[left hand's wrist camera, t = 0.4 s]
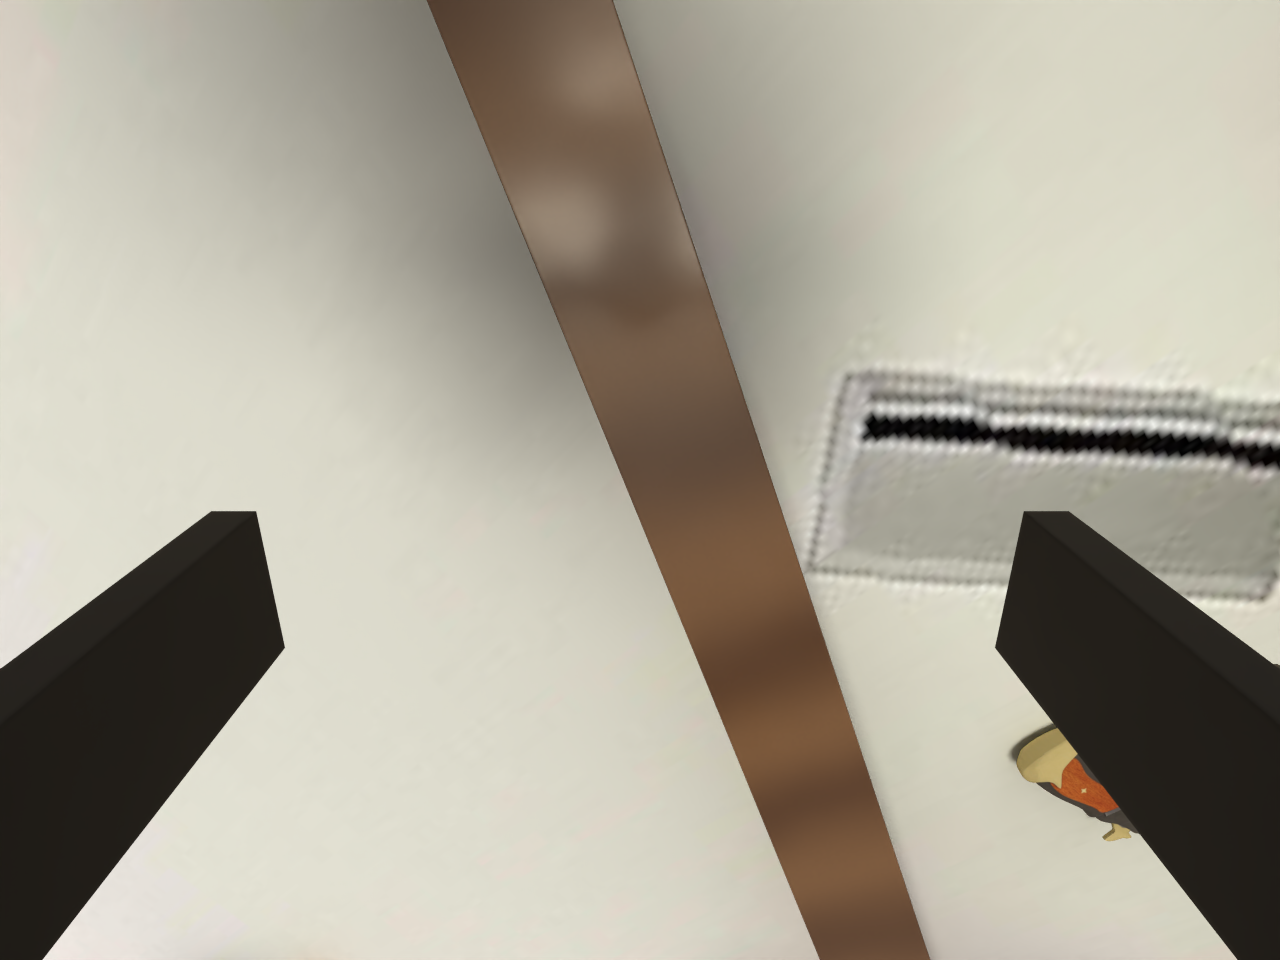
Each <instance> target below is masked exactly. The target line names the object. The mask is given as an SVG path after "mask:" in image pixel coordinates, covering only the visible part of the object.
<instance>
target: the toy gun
mask: <svg viewBox="0 0 1280 960" xmlns="http://www.w3.org/2000/svg"><path fill="white" fill-rule="evenodd" d="M1017 767H1018V769H1019V771H1020V773H1021V775H1022V776H1023V777H1024V778H1025V779H1026V780H1027V781H1029V782H1034V783H1035V782H1036V783H1037V784H1038V785H1039V786H1041V787H1042V788H1044V789H1045V790H1046V791H1048V792H1050V793H1051V794H1053V795H1054V796H1056V797H1058V798H1060V799H1062V800H1064V801H1066V802H1069V803H1071V804H1073V805H1075V806H1078V807H1080V808H1081V809H1083V810H1084V812H1085V813H1086V814H1087V815H1088V816H1090V817H1096V818H1097V819H1099V820H1101V821H1103V822H1108V823H1111V824H1112V830H1111V831H1109V832H1108V833H1107V834H1105V835H1104V836H1103V838H1104V840H1106V841H1114V840H1117V839H1121V838H1131V836H1130V834H1129V833H1128V832H1129V831H1130V830H1131V831H1132V832H1134V833H1138V834H1139V832H1138V831H1137V830H1136V828H1135V827H1134V826H1133V825H1132V823H1131V822H1130V821H1129V819H1128V818H1127V817H1126V816H1125V814H1124V813H1123V812H1122V810H1121V809H1120V808H1119V806H1118V805H1117V804H1116V803H1115V801H1114V800H1113V799H1112V797H1111V796H1110V795H1109V794H1108V792H1107V791H1106V790H1105V788H1104V787H1103V786H1102V785H1101V783H1100V782H1099V781H1098V779H1097V778H1096V777H1095V776H1094V774H1093V773H1092V772H1091V770H1090V769H1089V768H1088V767H1087V765H1086V764H1085V763H1084V761H1083V760H1082V759H1081V758H1080V756H1079V755H1078V754H1077V752H1076V751H1075V750H1074V749H1073V747H1072V746H1071V745H1070V743H1069V742H1068V741H1067V740H1066V738H1065V737H1064V736H1063V734H1062V733H1061V732H1060V731H1059V729H1058V728H1056V729H1054V730H1051V731H1049V732H1047V733H1044V734H1043V735H1041V736H1039V737H1037V738H1036V739H1034V740H1033V741H1031V742H1030V743H1028V744H1027V745H1026V746H1025V747H1023V748H1022V749H1021V751H1020V754H1019V756H1018V759H1017Z"/></svg>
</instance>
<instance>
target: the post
mask: <svg viewBox="0 0 1280 960" xmlns="http://www.w3.org/2000/svg"><path fill="white" fill-rule="evenodd" d="M427 2H428V4H429V7H430V9H431V12H432V14H433V17H434V19H435V22H436V24H437V26H438V29H439V31H440V34H441V36H442V39H443V41H444V44H445V46H446V48H447V51H448V53H449V56H450V58H451V61H452V63H453V65H454V68H455V70H456V73H457V75H458V78H459V80H460V83H461V85H462V87H463V90H464V92H465V95H466V97H467V100H468V102H469V105H470V107H471V109H472V112H473V114H474V117H475V119H476V122H477V124H478V127H479V129H480V131H481V134H482V136H483V139H484V141H485V144H486V146H487V148H488V151H489V153H490V156H491V158H492V161H493V163H494V166H495V168H496V170H497V173H498V175H499V178H500V180H501V183H502V185H503V188H504V190H505V192H506V195H507V197H508V200H509V202H510V205H511V207H512V209H513V212H514V214H515V217H516V219H517V222H518V224H519V227H520V229H521V231H522V234H523V236H524V239H525V241H526V244H527V246H528V249H529V251H530V253H531V256H532V258H533V261H534V263H535V266H536V268H537V270H538V273H539V275H540V278H541V280H542V283H543V285H544V288H545V290H546V292H547V295H548V297H549V300H550V302H551V305H552V307H553V310H554V312H555V314H556V317H557V319H558V322H559V324H560V327H561V329H562V331H563V334H564V336H565V339H566V341H567V344H568V346H569V349H570V351H571V353H572V356H573V358H574V361H575V363H576V366H577V368H578V371H579V373H580V375H581V378H582V380H583V383H584V385H585V388H586V390H587V392H588V395H589V397H590V400H591V402H592V405H593V407H594V410H595V412H596V414H597V417H598V419H599V422H600V424H601V427H602V429H603V432H604V434H605V436H606V439H607V441H608V444H609V446H610V449H611V451H612V453H613V456H614V458H615V461H616V463H617V466H618V468H619V471H620V473H621V475H622V478H623V480H624V483H625V485H626V488H627V490H628V493H629V495H630V497H631V500H632V502H633V505H634V507H635V510H636V512H637V514H638V517H639V519H640V522H641V524H642V527H643V529H644V532H645V534H646V536H647V539H648V541H649V544H650V546H651V549H652V551H653V554H654V556H655V558H656V561H657V563H658V566H659V568H660V571H661V573H662V575H663V578H664V580H665V583H666V585H667V588H668V590H669V593H670V595H671V597H672V600H673V602H674V605H675V607H676V610H677V612H678V615H679V617H680V619H681V622H682V624H683V627H684V629H685V632H686V634H687V636H688V639H689V641H690V644H691V646H692V649H693V651H694V654H695V656H696V658H697V661H698V663H699V666H700V668H701V671H702V673H703V676H704V678H705V680H706V683H707V685H708V688H709V690H710V693H711V695H712V697H713V700H714V702H715V705H716V707H717V710H718V712H719V715H720V717H721V719H722V722H723V724H724V727H725V729H726V732H727V734H728V737H729V739H730V741H731V744H732V746H733V749H734V751H735V754H736V756H737V758H738V761H739V763H740V766H741V768H742V771H743V773H744V776H745V778H746V780H747V783H748V785H749V788H750V790H751V793H752V795H753V798H754V800H755V802H756V805H757V807H758V810H759V812H760V815H761V817H762V819H763V822H764V824H765V827H766V829H767V832H768V834H769V837H770V839H771V841H772V844H773V846H774V849H775V851H776V854H777V856H778V859H779V861H780V863H781V866H782V868H783V871H784V873H785V876H786V878H787V880H788V883H789V885H790V888H791V890H792V893H793V895H794V898H795V900H796V902H797V905H798V907H799V910H800V912H801V915H802V917H803V920H804V922H805V924H806V927H807V929H808V932H809V934H810V937H811V939H812V942H813V944H814V946H815V949H816V951H817V954H818V956H819V959H820V960H930V958H929V955H928V952H927V949H926V946H925V943H924V940H923V937H922V934H921V931H920V928H919V925H918V922H917V919H916V915H915V912H914V909H913V906H912V903H911V900H910V897H909V894H908V891H907V888H906V885H905V882H904V879H903V876H902V873H901V870H900V867H899V864H898V861H897V858H896V855H895V852H894V849H893V846H892V843H891V840H890V837H889V834H888V831H887V828H886V825H885V822H884V819H883V816H882V813H881V810H880V807H879V804H878V801H877V798H876V795H875V792H874V789H873V786H872V782H871V779H870V776H869V773H868V770H867V767H866V764H865V761H864V758H863V755H862V752H861V749H860V746H859V743H858V740H857V737H856V734H855V731H854V728H853V725H852V722H851V719H850V716H849V713H848V710H847V707H846V704H845V701H844V698H843V695H842V692H841V689H840V686H839V683H838V680H837V677H836V674H835V671H834V668H833V665H832V662H831V659H830V656H829V653H828V649H827V646H826V643H825V640H824V637H823V634H822V631H821V628H820V625H819V622H818V619H817V616H816V613H815V610H814V607H813V604H812V601H811V598H810V595H809V592H808V589H807V586H806V583H805V580H804V577H803V574H802V571H801V568H800V565H799V562H798V559H797V556H796V553H795V550H794V547H793V544H792V541H791V538H790V535H789V532H788V529H787V526H786V523H785V520H784V516H783V513H782V510H781V507H780V504H779V501H778V498H777V495H776V492H775V489H774V486H773V483H772V480H771V477H770V474H769V471H768V468H767V465H766V462H765V459H764V456H763V453H762V450H761V447H760V444H759V441H758V438H757V435H756V432H755V429H754V426H753V423H752V420H751V417H750V414H749V411H748V408H747V405H746V402H745V399H744V396H743V393H742V390H741V386H740V383H739V380H738V377H737V374H736V371H735V368H734V365H733V362H732V359H731V356H730V353H729V350H728V347H727V344H726V341H725V338H724V335H723V332H722V329H721V326H720V323H719V320H718V317H717V314H716V311H715V308H714V305H713V302H712V299H711V296H710V293H709V290H708V287H707V284H706V281H705V278H704V275H703V272H702V269H701V266H700V263H699V260H698V257H697V253H696V250H695V247H694V244H693V241H692V238H691V235H690V232H689V229H688V226H687V223H686V220H685V217H684V214H683V211H682V208H681V205H680V202H679V199H678V196H677V193H676V190H675V187H674V184H673V181H672V178H671V175H670V172H669V169H668V166H667V163H666V160H665V157H664V154H663V151H662V148H661V145H660V142H659V139H658V136H657V133H656V130H655V127H654V124H653V120H652V117H651V114H650V111H649V108H648V105H647V102H646V99H645V96H644V93H643V90H642V87H641V84H640V81H639V78H638V75H637V72H636V69H635V66H634V63H633V60H632V57H631V54H630V51H629V48H628V45H627V42H626V39H625V36H624V33H623V30H622V27H621V24H620V21H619V18H618V15H617V12H616V9H615V6H614V3H613V0H427Z"/></svg>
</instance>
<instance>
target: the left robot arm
mask: <svg viewBox="0 0 1280 960" xmlns="http://www.w3.org/2000/svg"><path fill="white" fill-rule="evenodd" d="M284 648H285V646H284V641H283V637H282V632H281V627H280V622H279V618H278V613H277V608H276V603H275V599H274V594H273V589H272V584H271V580H270V575H269V570H268V565H267V561H266V556H265V551H264V547H263V542H262V537H261V532H260V528H259V523H258V518H257V513H256V511H211V512H210V513H208V514H207V515H206V516H204V517H203V518H202V519H200V520H199V521H198V522H196V523H195V524H194V525H192V526H191V527H190V528H188V529H187V530H186V531H184V532H183V533H182V534H180V535H179V536H178V537H176V538H175V539H174V540H172V541H171V542H170V543H168V544H167V545H166V546H164V547H163V548H162V549H160V550H159V551H158V552H156V553H155V554H154V555H152V556H151V557H150V558H148V559H147V560H146V561H144V562H143V563H142V564H140V565H139V566H138V567H136V568H135V569H134V570H132V571H131V572H130V573H128V574H127V575H125V576H124V577H123V578H121V579H120V580H119V581H117V582H116V583H115V584H113V585H112V586H111V587H109V588H108V589H107V590H105V591H104V592H103V593H101V594H100V595H99V596H97V597H96V598H95V599H93V600H92V601H91V602H89V603H88V604H87V605H85V606H84V607H83V608H81V609H80V610H79V611H77V612H76V613H75V614H73V615H72V616H71V617H69V618H68V619H67V620H65V621H64V622H63V623H61V624H60V625H59V626H57V627H56V628H55V629H53V630H52V631H51V632H49V633H48V634H47V635H45V636H44V637H43V638H41V639H40V640H39V641H37V642H36V643H35V644H33V645H32V646H31V647H29V648H28V649H27V650H25V651H24V652H23V653H21V654H20V655H18V656H17V657H16V658H14V659H13V660H12V661H10V662H9V663H8V664H6V665H5V666H4V667H2V668H0V960H43V958H44V957H45V956H46V954H47V953H48V952H49V951H50V949H51V948H52V947H53V945H54V944H55V943H56V942H57V940H58V939H59V938H60V936H61V935H62V934H63V933H64V931H65V930H66V929H67V927H68V926H69V925H70V924H71V922H72V921H73V920H74V918H75V917H76V916H77V915H78V913H79V912H80V911H81V909H82V908H83V907H84V906H85V904H86V903H87V902H88V900H89V899H90V898H91V897H92V895H93V894H94V893H95V891H96V890H97V889H98V888H99V886H100V885H101V884H102V882H103V881H104V880H105V879H106V877H107V876H108V875H109V873H110V872H111V871H112V870H113V868H114V867H115V866H116V864H117V863H118V862H119V861H120V859H121V858H122V857H123V855H124V854H125V853H126V852H127V850H128V849H129V848H130V846H131V845H132V844H133V843H134V841H135V840H136V839H137V837H138V836H139V835H140V834H141V832H142V831H143V830H144V828H145V827H146V826H147V825H148V823H149V822H150V821H151V819H152V818H153V817H154V815H155V814H156V813H157V812H158V810H159V809H160V808H161V806H162V805H163V804H164V803H165V801H166V800H167V799H168V797H169V796H170V795H171V794H172V792H173V791H174V790H175V788H176V787H177V786H178V785H179V783H180V782H181V781H182V779H183V778H184V777H185V776H186V774H187V773H188V772H189V770H190V769H191V768H192V767H193V765H194V764H195V763H196V761H197V760H198V759H199V758H200V756H201V755H202V754H203V752H204V751H205V750H206V749H207V747H208V746H209V745H210V743H211V742H212V741H213V740H214V738H215V737H216V736H217V734H218V733H219V732H220V731H221V729H222V728H223V727H224V725H225V724H226V723H227V722H228V720H229V719H230V718H231V716H232V715H233V714H234V713H235V711H236V710H237V709H238V707H239V706H240V705H241V704H242V702H243V701H244V700H245V698H246V697H247V696H248V695H249V693H250V692H251V691H252V689H253V688H254V687H255V686H256V684H257V683H258V682H259V680H260V679H261V678H262V677H263V675H264V674H265V673H266V671H267V670H268V669H269V668H270V666H271V665H272V664H273V662H274V661H275V660H276V659H277V657H278V656H279V655H280V653H281V652H282V651H283V650H284ZM995 648H996V650H997V651H998V652H999V653H1000V655H1001V656H1002V657H1003V659H1004V660H1005V661H1006V662H1007V664H1008V665H1009V666H1010V668H1011V669H1012V670H1013V671H1014V673H1015V674H1016V675H1017V677H1018V678H1019V679H1020V680H1021V682H1022V683H1023V684H1024V686H1025V687H1026V688H1027V689H1028V691H1029V692H1030V693H1031V695H1032V696H1033V697H1034V698H1035V700H1036V701H1037V702H1038V704H1039V705H1040V706H1041V707H1042V709H1043V710H1044V711H1045V713H1046V714H1047V715H1048V716H1049V718H1050V719H1051V720H1052V722H1053V723H1054V724H1055V725H1056V727H1057V728H1058V729H1059V731H1060V732H1061V733H1062V734H1063V736H1064V737H1065V738H1066V740H1067V741H1068V742H1069V743H1070V745H1071V746H1072V747H1073V749H1074V750H1075V751H1076V752H1077V754H1078V755H1079V756H1080V758H1081V759H1082V760H1083V761H1084V763H1085V764H1086V765H1087V767H1088V768H1089V769H1090V770H1091V772H1092V773H1093V774H1094V776H1095V777H1096V778H1097V779H1098V781H1099V782H1100V783H1101V785H1102V786H1103V787H1104V788H1105V790H1106V791H1107V792H1108V794H1109V795H1110V796H1111V797H1112V799H1113V800H1114V801H1115V803H1116V804H1117V805H1118V806H1119V808H1120V809H1121V810H1122V812H1123V813H1124V814H1125V816H1126V817H1127V818H1128V819H1129V821H1130V822H1131V823H1132V825H1133V826H1134V827H1135V828H1136V830H1137V831H1138V832H1139V834H1140V835H1141V836H1142V837H1143V839H1144V840H1145V841H1146V843H1147V844H1148V845H1149V846H1150V848H1151V849H1152V850H1153V852H1154V853H1155V854H1156V855H1157V857H1158V858H1159V859H1160V861H1161V862H1162V863H1163V864H1164V866H1165V867H1166V868H1167V870H1168V871H1169V872H1170V873H1171V875H1172V876H1173V877H1174V879H1175V880H1176V881H1177V882H1178V884H1179V885H1180V886H1181V888H1182V889H1183V890H1184V891H1185V893H1186V894H1187V895H1188V897H1189V898H1190V899H1191V900H1192V902H1193V903H1194V904H1195V906H1196V907H1197V908H1198V909H1199V911H1200V912H1201V913H1202V915H1203V916H1204V917H1205V918H1206V920H1207V921H1208V922H1209V924H1210V925H1211V926H1212V927H1213V929H1214V930H1215V931H1216V933H1217V934H1218V935H1219V936H1220V938H1221V939H1222V940H1223V942H1224V943H1225V944H1226V945H1227V947H1228V948H1229V949H1230V951H1231V952H1232V953H1233V954H1234V956H1235V957H1236V958H1237V960H1280V665H1278V664H1272V663H1271V662H1270V661H1268V660H1267V659H1266V658H1264V657H1263V656H1262V655H1260V654H1259V653H1257V652H1256V651H1255V650H1253V649H1252V648H1251V647H1249V646H1248V645H1247V644H1245V643H1244V642H1243V641H1241V640H1240V639H1239V638H1237V637H1236V636H1235V635H1233V634H1232V633H1231V632H1229V631H1228V630H1227V629H1225V628H1224V627H1223V626H1221V625H1220V624H1219V623H1217V622H1216V621H1215V620H1213V619H1212V618H1211V617H1209V616H1208V615H1207V614H1205V613H1204V612H1203V611H1201V610H1200V609H1199V608H1197V607H1196V606H1195V605H1193V604H1192V603H1191V602H1189V601H1188V600H1187V599H1185V598H1184V597H1183V596H1181V595H1180V594H1179V593H1177V592H1176V591H1175V590H1173V589H1172V588H1171V587H1169V586H1168V585H1167V584H1165V583H1164V582H1163V581H1161V580H1160V579H1159V578H1157V577H1156V576H1155V575H1153V574H1152V573H1150V572H1149V571H1148V570H1146V569H1145V568H1144V567H1142V566H1141V565H1140V564H1138V563H1137V562H1136V561H1134V560H1133V559H1132V558H1130V557H1129V556H1128V555H1126V554H1125V553H1124V552H1122V551H1121V550H1120V549H1118V548H1117V547H1116V546H1114V545H1113V544H1112V543H1110V542H1109V541H1108V540H1106V539H1105V538H1104V537H1102V536H1101V535H1100V534H1098V533H1097V532H1096V531H1094V530H1093V529H1092V528H1090V527H1089V526H1088V525H1086V524H1085V523H1084V522H1082V521H1081V520H1080V519H1078V518H1077V517H1076V516H1074V515H1073V514H1072V513H1070V512H1069V511H1024V513H1023V518H1022V523H1021V528H1020V532H1019V537H1018V542H1017V546H1016V551H1015V556H1014V561H1013V565H1012V570H1011V575H1010V580H1009V584H1008V589H1007V594H1006V599H1005V603H1004V608H1003V613H1002V618H1001V622H1000V627H999V632H998V637H997V641H996V646H995Z"/></svg>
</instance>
